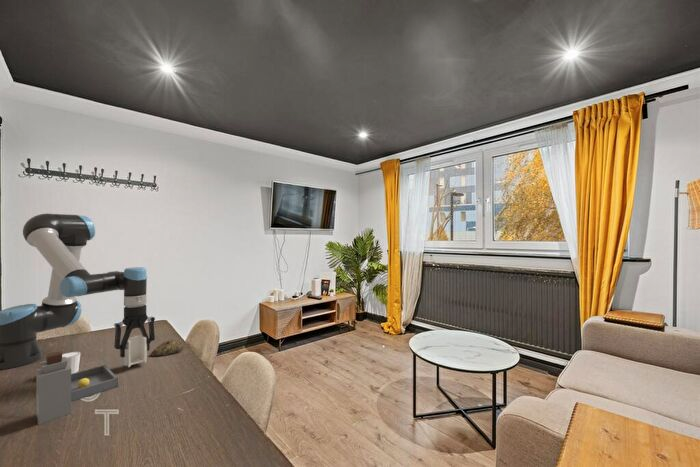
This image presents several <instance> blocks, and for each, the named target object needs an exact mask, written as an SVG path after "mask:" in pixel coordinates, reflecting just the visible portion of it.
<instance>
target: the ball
mask: <svg viewBox="0 0 700 467" xmlns="http://www.w3.org/2000/svg"><path fill="white" fill-rule="evenodd" d="M89 382H90V381H89V379H87V378H83V379H81V380H79V381H78V383H77V386H78V388H84V387H87V386H88V385H89Z"/></svg>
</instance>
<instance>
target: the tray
mask: <svg viewBox="0 0 700 467" xmlns="http://www.w3.org/2000/svg"><path fill="white" fill-rule="evenodd" d="M83 378H87V379H89V381H90V382H89V385H88V386H87V387H84V388H78V386H77V383H78V381H79V380H81V379H83ZM118 387H119V378H118V376H117V375H116V374H115V373H114V372H113V371H112V370H111V369H110V368H109V367H108V366H107V365H106V364H104V365H99V366H95V367H92V368H88V369H84V370H81V371H78V372H76V373H73V374H71V403H72V402H74V401H77V400H81V399H83V398H87V397H90V396H93V395H96V394H100V393H102V392H105V391H108V390H112V389H114V388H115V389H116V388H118Z"/></svg>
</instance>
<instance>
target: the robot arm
mask: <svg viewBox="0 0 700 467" xmlns="http://www.w3.org/2000/svg"><path fill="white" fill-rule="evenodd" d="M95 235H96V226H95V223H94V222H93V220H92V219H91V218H89V216H86V215H79V214H63V213H62V214H60V213H59V214H58V213H41V214H37V215H34V216H33V217H31V218H29V219H28V220H27V221H26V222H25V224H24V226H23V228H22V236H23V239H24V240H25V241H26V243H27V244H28V245H29V246H31V247H34V248H36V249H37V251H38V252H39V253H40V254H41V256H42V257H43V258H44V260H46V261H47V263H48V264H49V265H50V267H51V268H52V270H51V276H50V281H49V287H48V293H47V296H46V297H44V298H43V299H42V300H41V305H37V304H35V303H26V304H20V305H15V306H11V307H8V308H5V309H1V310H0V370H7V369H12V368H19V367H22V366H26V365H28V364H33V363H35V362H37V361H39V360H40V359H42V357H43V351H42V348H41V346H40V345H39V343H38V340H37V334H38V333H42V332H47V331H51V330H55V329H59V328H64V327H68V326H72V325H73V324H75V323H77V321H78V320H79V319H80V318H81V315H82V305H81V303H80V301H79V300H78V299H77V297H83V296H88V295H94V294H99V293H106V292H112V291H123V319H122V321H120V322H116V323H114V324H113V326H114V329H115V335H114V345H113V347H114V349H116V350H120V351H119V356H120V357H121V358H122V364H123V365H124V366H125V367H126V366H127V348H126V344H127V341H128V339H129V338H130V335H131V333H132V331H133V330H135V329H139V331H140V333H141V335H142V336H144V337H146V361H147V360H148V351H150V346H151V345H150V344H151V342H152V341H155V339H156V336H155V323H154V322H155V320H156V317H154V316H148V315H147V283H148V282H147V278H148V276H147V269H146V267H142V266H141V267H138V266H137V267H136V266H135V267H126V268H124V269H123V271H118V270H116V271H108V272H103V273H94V274H90V272H89V271H88V270H87V269H86V268H85V267H84V266H83V264H82V263H81V262H80V258H81V255H82V254H81V251H82V248H84V247H86V246H87V244H88V241H91V240H93V239H94V237H95ZM146 321H147V322H148V333H147V331H146V326H145V323H146ZM123 325H124V326H125V331H124V334H123V337H121V336H122V328H123ZM148 335H149V336H148ZM121 338H122V340H121Z"/></svg>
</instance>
